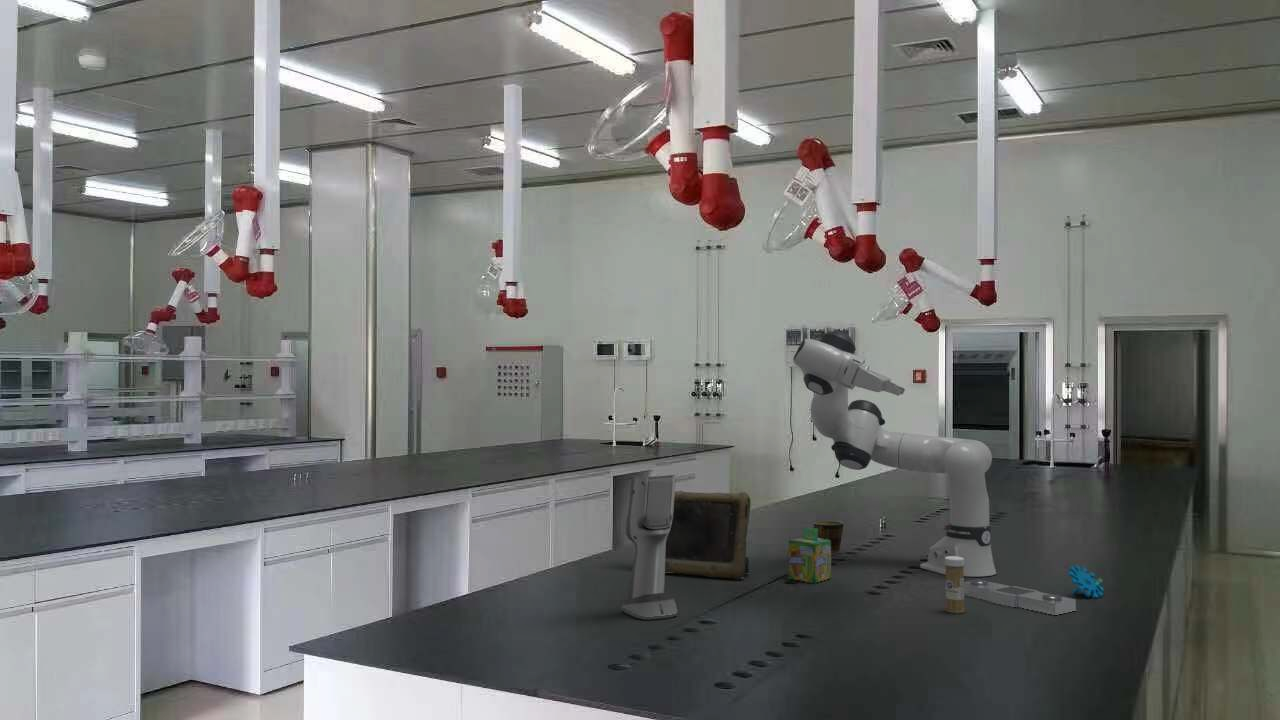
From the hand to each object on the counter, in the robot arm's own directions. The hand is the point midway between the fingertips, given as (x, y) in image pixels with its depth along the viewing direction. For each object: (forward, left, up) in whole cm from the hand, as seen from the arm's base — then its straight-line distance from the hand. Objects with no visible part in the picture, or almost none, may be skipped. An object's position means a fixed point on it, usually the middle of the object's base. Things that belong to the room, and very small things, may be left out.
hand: (902, 392), depth 256 cm
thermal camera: (-27, -62, -55) cm, 87 cm away
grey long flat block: (+17, +21, -54) cm, 61 cm away
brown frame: (-61, -24, -55) cm, 85 cm away
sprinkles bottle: (+15, +1, -55) cm, 57 cm away
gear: (+23, +43, -55) cm, 73 cm away
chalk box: (-35, -2, -55) cm, 65 cm away
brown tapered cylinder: (-64, +31, -55) cm, 90 cm away
